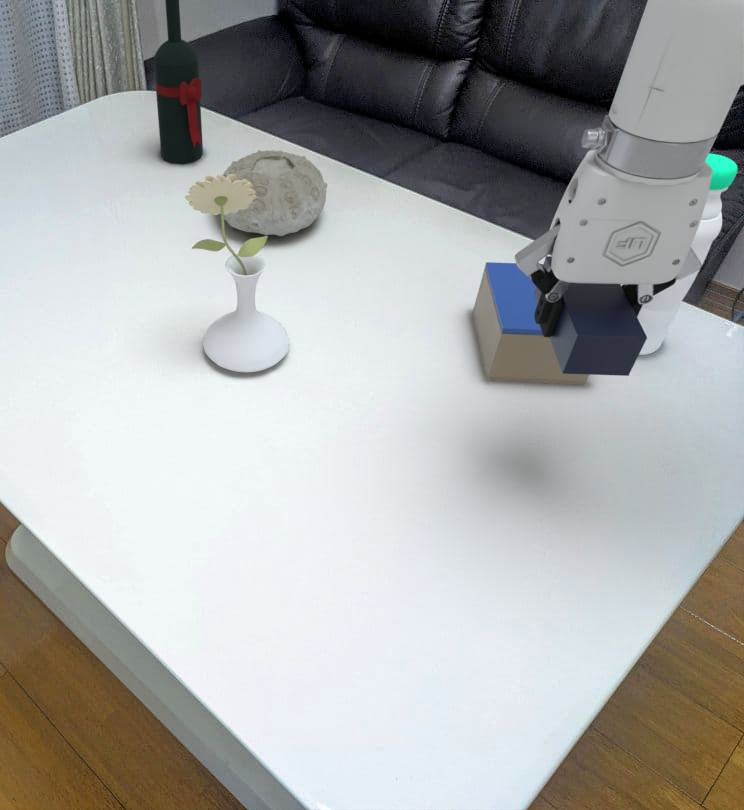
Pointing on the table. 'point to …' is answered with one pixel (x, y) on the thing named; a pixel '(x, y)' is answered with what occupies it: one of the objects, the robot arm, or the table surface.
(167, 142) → the wine bottle
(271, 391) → the table surface
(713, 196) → the water bottle
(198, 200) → the flower in vase
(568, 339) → the case
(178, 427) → the table surface
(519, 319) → the container lid
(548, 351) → the container
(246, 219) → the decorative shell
